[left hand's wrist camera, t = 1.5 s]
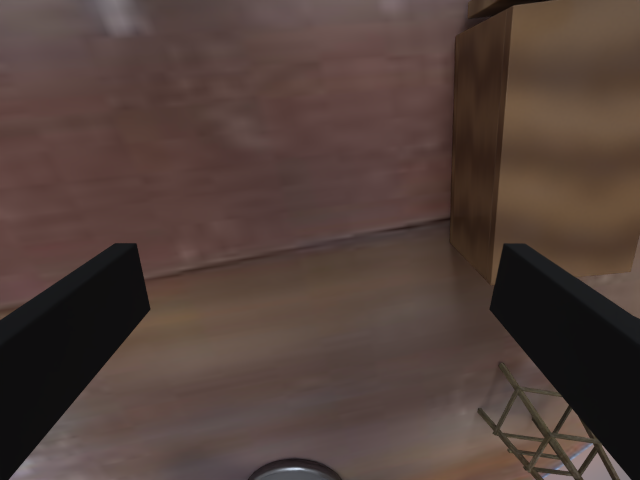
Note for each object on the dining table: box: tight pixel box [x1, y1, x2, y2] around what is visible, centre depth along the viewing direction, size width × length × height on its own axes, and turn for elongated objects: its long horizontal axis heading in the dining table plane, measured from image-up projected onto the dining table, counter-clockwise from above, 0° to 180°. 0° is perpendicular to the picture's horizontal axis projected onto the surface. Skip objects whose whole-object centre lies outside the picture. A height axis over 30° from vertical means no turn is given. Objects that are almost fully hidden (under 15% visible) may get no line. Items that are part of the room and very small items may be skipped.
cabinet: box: [450, 0, 640, 285], centre depth 29 cm, size 20×11×10 cm, turn 6°
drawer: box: [468, 0, 553, 19], centre depth 27 cm, size 24×10×8 cm, turn 6°
